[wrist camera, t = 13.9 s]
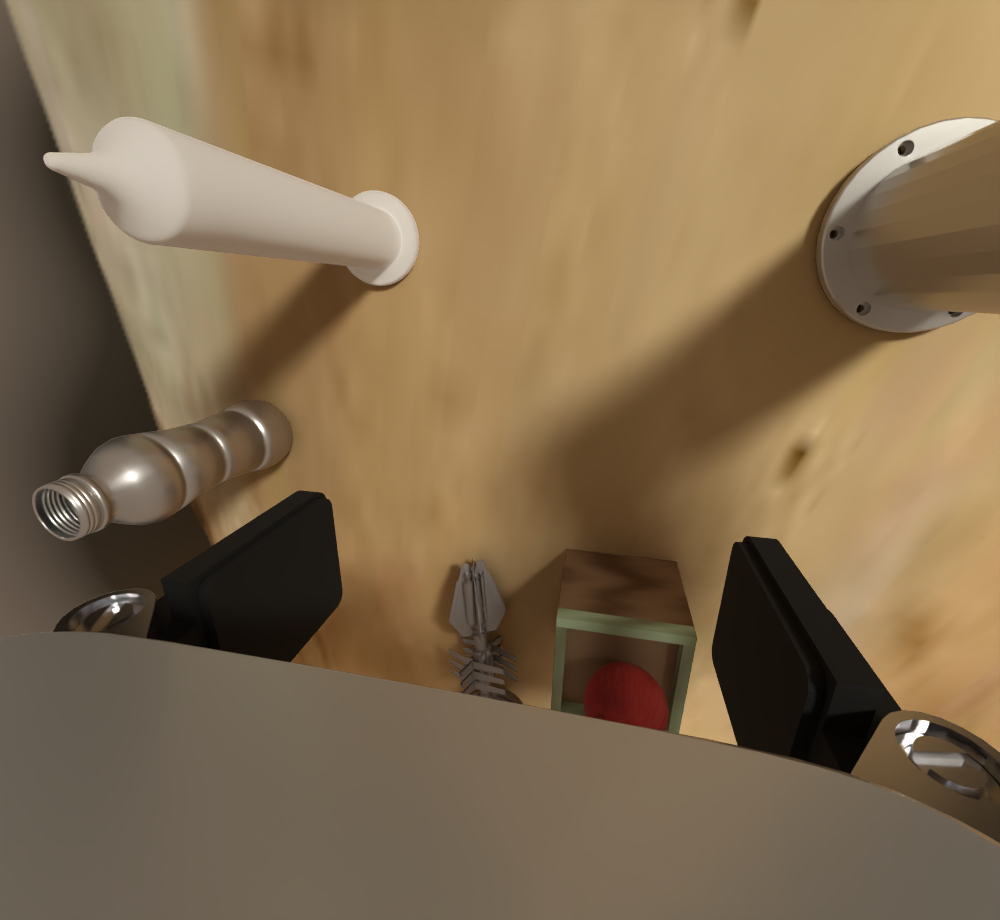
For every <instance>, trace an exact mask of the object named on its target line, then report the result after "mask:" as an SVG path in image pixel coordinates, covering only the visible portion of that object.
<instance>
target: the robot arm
mask: <svg viewBox="0 0 1000 920" xmlns="http://www.w3.org/2000/svg"><path fill="white" fill-rule="evenodd" d="M898 148H900V149H901V150H902V153H901V155H899V154H898ZM831 231H834V233H835V236H834V238H832V239H831V238H830V232H831ZM816 264H817V271H818V277H819V280H820V282H821V285H822V288H823V291H824V293H825V294H826V296H827V297H828V299H829V300H830V302H831V303H832V305H833V306H834V307H835V308H837V309H838V310H839V311H840V312H841V313H842V314H843V315H844V316H845V317H847V318H849V319H851V320H852V321H854V322H856V323H858V324H859V325H862V326H866V327H869V328H872V329H875V330H881V331H888V332H905V333H913V332H920V331H927V330H933V329H936V328H940V327H943V326H946V325H950V324H953V323H955V322H957V321H959V320H962V319H964V318H966V317H968V316H970V315H972V314H974V313H990V314H1000V120H999V121H997V120H994V119H990V118H980V117H960V118H953V119H946V120H941V121H938V122H934V123H931V124H928V125H925V126H922V127H919V128H917V129H915V130H913V131H911V132H909V133H906V134H904V135H902V136H900V137H898V138H897V139H895V140H893V141H892V142H890V143H889V144H887V145H885V146H884V147H882V148H880V149H879V150H877V151H876V152H875V153H874V154H872V155H871V156H870V157H869V158H868V159H866V160H865V161H864V162H863V163H862V164H860V165H859V166H858V167H857V169H856V170H855V171H854V172H853V173H852V174H851V175H850V176H849V177H848V178H847V180H846V181H845V182H844V183H843V184H842V186H841V187H840V189H839V190H838V192H837V193H836V195H835V196H834V198H833V199H832V201H831V203H830V205H829V207H828V210H827V212H826V214H825V216H824V218H823V220H822V224H821V228H820V231H819V235H818V239H817V250H816ZM858 305H860V306H861V309H860V311H859V312H857V307H858ZM948 311H950V312H949V313H948ZM161 583H162V585H163V590H164V593H165V595H164V596H163V597H161V598H160V599H159V600H156V597H155V595H154V594H153V593H152V592H150V591H148V590H144V589H126V590H120V591H115V592H112V593H108V594H104V595H101V596H99V597H96V598H94V599H91V600H89V601H86V602H84V603H83V604H81V605H79V606H77V607H75V608H74V609H72V610H71V611H70V612H68V613H67V614H66V615H64V616H63V617H62V618H61V620H60V621H59V622H58V623H57V625H56V626H55V629H54V630H53V632H45V633H33V634H26V635H19V636H11V637H5V638H0V920H1000V752H998V751H997V750H996V749H994V748H993V747H992V746H991V745H989V744H988V743H987V742H985V741H984V740H982V739H981V738H979V737H977V736H976V735H974V734H972V733H971V732H969V731H967V730H966V729H964V728H962V727H960V726H958V725H956V724H953V723H951V722H949V721H947V720H944V719H942V718H939V717H936V716H933V715H929V714H926V713H922V712H916V711H906V710H901V709H900V707H899V706H898V704H897V703H896V702H895V700H894V699H893V697H892V696H891V695H890V693H889V692H888V690H887V689H886V688H885V686H884V685H883V683H882V682H881V681H880V679H879V678H878V677H877V675H876V674H875V672H874V671H873V670H872V668H871V667H870V665H869V664H868V663H867V661H866V660H865V658H864V657H863V656H862V654H861V653H860V651H859V650H858V649H857V647H856V646H855V644H854V643H853V642H852V640H851V639H850V638H849V636H848V635H847V633H846V632H845V631H844V629H843V628H842V626H841V625H840V624H839V622H838V621H837V619H836V618H835V617H834V615H833V614H832V613H831V612H830V611H829V610H828V609H827V608H826V607H825V605H824V604H823V603H822V601H821V600H820V598H819V597H818V596H817V594H816V593H815V591H814V590H813V589H812V587H811V586H810V584H809V583H808V582H807V580H806V579H805V577H804V576H803V575H802V573H801V572H800V570H799V569H798V568H797V566H796V565H795V563H794V562H793V560H792V559H791V558H790V556H789V555H788V553H787V552H786V551H785V549H784V548H783V546H782V545H781V544H780V542H779V541H778V540H777V539H770V538H760V537H750V536H746V537H745V538H744V540H743V542H735V543H734V545H733V547H732V551H731V556H730V561H729V566H728V571H727V576H726V581H725V586H724V590H723V595H722V600H721V605H720V610H719V615H718V620H717V624H716V629H715V634H714V639H713V644H712V660H713V664H714V668H715V671H716V674H717V678H718V681H719V684H720V688H721V691H722V694H723V698H724V701H725V704H726V708H727V711H728V714H729V718H730V721H731V725H732V728H733V731H734V735H735V738H736V741H737V745H738V746H737V745H732V744H728V743H723V742H719V741H714V740H709V739H704V738H699V737H694V736H688V735H683V734H678V733H672V732H667V731H662V730H656V729H651V728H646V727H641V726H635V725H630V724H625V723H619V722H614V721H609V720H603V719H598V718H593V717H587V716H582V715H577V714H571V713H566V712H561V711H555V710H550V709H545V708H539V707H534V706H528V705H523V704H518V703H512V702H507V701H501V700H496V699H491V698H485V697H480V696H474V695H469V694H464V693H458V692H453V691H447V690H442V689H436V688H431V687H425V686H420V685H414V684H409V683H403V682H398V681H392V680H387V679H381V678H375V677H370V676H364V675H358V674H353V673H347V672H342V671H336V670H330V669H325V668H319V667H314V666H308V665H302V664H296V663H291V661H292V660H293V658H294V657H295V656H296V655H297V654H298V653H299V651H300V650H301V649H302V648H303V647H304V645H305V644H306V643H307V642H308V641H309V640H310V638H311V637H312V636H313V635H314V634H315V633H316V631H317V630H318V629H319V628H320V627H321V625H322V624H323V623H324V622H325V621H326V620H327V618H328V617H329V616H330V615H331V614H332V612H333V611H334V610H335V609H336V608H337V607H338V605H339V603H340V601H341V598H342V583H341V575H340V567H339V558H338V550H337V542H336V534H335V526H334V518H333V510H332V504H331V502H330V500H329V499H326V497H325V495H324V494H323V493H319V492H309V491H297V492H295V493H294V494H292V495H291V496H289V497H287V498H286V499H284V500H283V501H281V502H280V503H278V504H277V505H275V506H274V507H272V508H270V509H269V510H267V511H266V512H264V513H263V514H261V515H260V516H258V517H256V518H255V519H253V520H252V521H250V522H249V523H247V524H246V525H244V526H243V527H241V528H239V529H238V530H236V531H235V532H233V533H232V534H230V535H229V536H227V537H225V538H224V539H222V540H221V541H219V542H218V543H216V544H215V545H213V546H211V547H210V548H208V549H207V550H205V551H204V552H202V553H201V554H199V555H198V556H196V557H194V558H193V559H191V560H190V561H189V562H187V563H185V564H184V565H182V566H180V567H179V568H177V569H176V570H174V571H173V572H171V573H170V574H168V575H167V576H165V577H164V578H162V579H161Z"/></svg>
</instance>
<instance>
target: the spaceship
mask: <svg viewBox="0 0 1000 920" xmlns="http://www.w3.org/2000/svg"><path fill="white" fill-rule="evenodd" d="M472 560H473V558H472ZM505 612H506V608H505V606H504V603H503V601H502V599H501V596H500V594H499V592H498V589H497V587H496V585H495V582H494V580H493V578H492V575H491V574H489V572H488V570H487V568H486V566H485V564H484V561H483V560H479V561H477V562H476V566H475V565H474V561H473V566H472V568H470V566H469V564H468V563H466V564H462V566H461V571H460V575H459V580H457V582H456V587H455V592H454V597H453V601H452V606H451V611H450V616H449V622H450V624H451V625H452V626H453V627H454V628H455V629H456V630H457V631H458V632H459V634H460V635H461V636H462V637H468V636H474V640H472V639H466V638H462V641H463V643H466V644H470V645H474V646H475V647H474V648H473V649H470V648H465V647H463V650H464V652H466V653H470V654H472V658H469V657H463V656H462V655H460V654H458V653H456V652H454V651H452V650H451V649H449V652H450V654H451V655H452V656H454V657H456V658H457V659H459V660H460V661H462V662H463V663H465V664H466V666H463V665H461V664H459V663H458V662H456V661H454V660H452V659H450V660H451V664H453V665H454V666H456V667H457V668H459V669H460V670H461V671H460V672H457V671H456V670H454V669H452V668H451V669H452V673H453V674H454V675H456V676H457V677H459V678H460V679H461V680H462V682H461V687H463V688H464V687H465V686H466V685H467V684H469V685H468V686H467V688H466V689H465V690H464V691H463V692H462V693H464V694H469V695H474V696H480V697H485V698H491V699H496V700H501V701H507V702H512V703H518V704H523V703H522V702H521V700H520V699H519V698H518V697H517V696H516V695H515V694H513V693H512V692H510V691H507V690H505V689H500V688H496V687H493V686H490V683H491V682H492V683H497V684H502V685H505V683H504V680H503V679H500V678H496V677H494V673H497V674H502V675H503V674H504V675H505V676H507V677H509V678H511V679H513V680H515V681H516V682H517V677H516V676H515V675H513V674H512V673H510V672H508V671H507V670H505V669H503V668H502V667H500V666H499V665H498V664H499V663H500V664H502V665H504V666H506V667H508V668H510V669H512V670H514V671H516V672H517V670H516V666H514V665H512V664H511V663H509V662H507V661H505V660H504V659H503V656H505V657H507V658H509V659H511V660H513V661H515V662H516V658H515V656H513V655H511V654H510V653H508V652H506V651H504V650H503V648H502V646H501V645H499V646H497V645H498V644H499V643H500V641H501V640H502V637H501V636H500V635H499V636H498V637H497V638H496V639H494V640H493V641H490V642H486V634H487V633H488V632H490V631H494V630H496V629H497V628H498V626H499V624H500V622H501V620H502V618H503V616H504V614H505ZM486 632H487V633H486ZM498 654H501V655H499V656H497V655H498ZM493 660H494V661H493ZM466 674H467V676H464V675H466ZM476 689H479V690H476ZM473 690H475V691H473ZM471 691H473V692H471Z"/></svg>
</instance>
